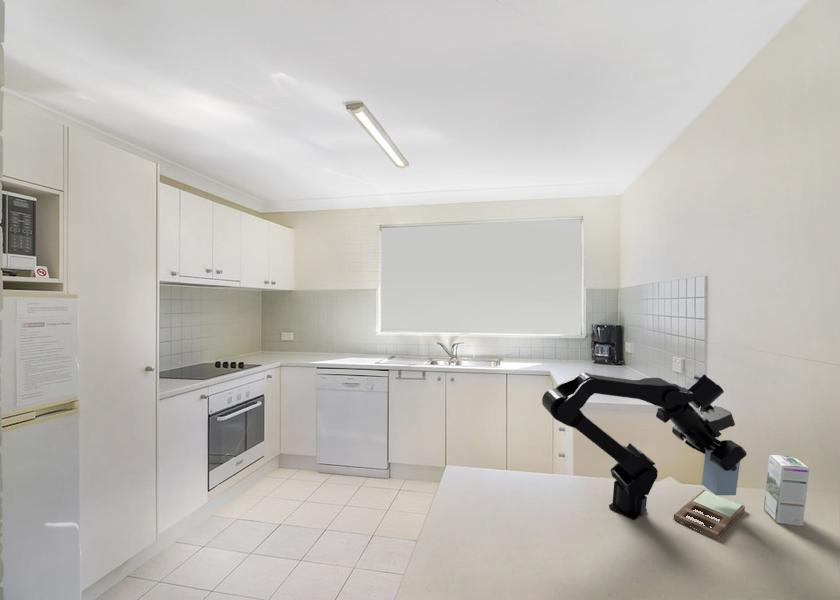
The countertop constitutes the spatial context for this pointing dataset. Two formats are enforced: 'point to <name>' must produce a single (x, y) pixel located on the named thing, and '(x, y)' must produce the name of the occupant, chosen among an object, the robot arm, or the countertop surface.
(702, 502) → the board
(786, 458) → the syrup box
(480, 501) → the countertop surface
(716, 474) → the blue block
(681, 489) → the countertop surface
